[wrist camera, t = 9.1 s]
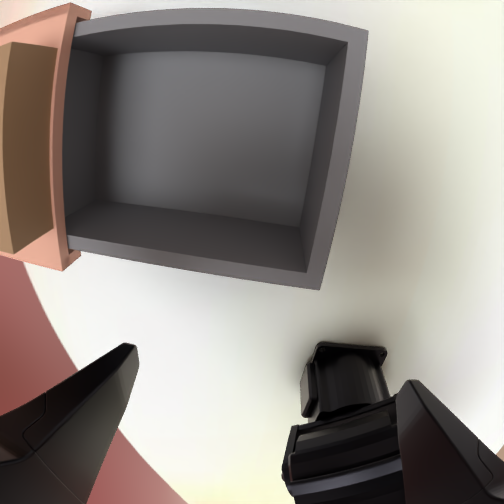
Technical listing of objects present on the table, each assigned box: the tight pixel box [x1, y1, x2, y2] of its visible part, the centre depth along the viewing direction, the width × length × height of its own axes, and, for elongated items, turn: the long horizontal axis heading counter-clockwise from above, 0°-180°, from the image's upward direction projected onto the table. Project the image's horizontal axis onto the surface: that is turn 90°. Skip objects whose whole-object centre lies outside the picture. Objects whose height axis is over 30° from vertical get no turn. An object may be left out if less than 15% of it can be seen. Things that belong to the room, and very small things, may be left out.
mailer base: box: [62, 8, 368, 290], centre depth 15 cm, size 16×12×7 cm
